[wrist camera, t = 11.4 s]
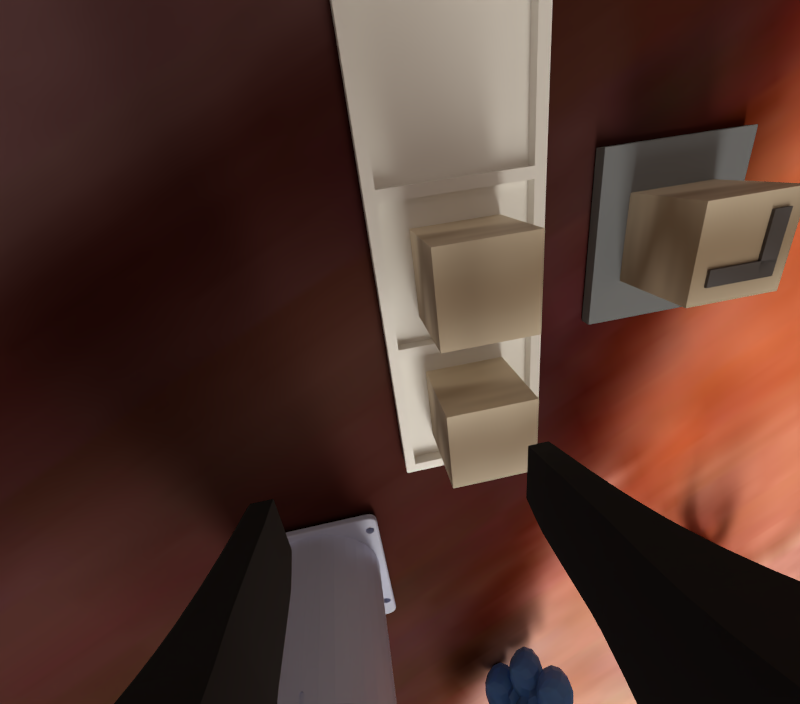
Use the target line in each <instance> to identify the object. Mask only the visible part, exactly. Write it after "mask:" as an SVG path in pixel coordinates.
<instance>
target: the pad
mask: <svg viewBox="0 0 800 704" xmlns="http://www.w3.org/2000/svg"><path fill="white" fill-rule="evenodd" d="M757 126H758V124H756V125H745V126H738V127H731V128H725V129H718V130H712V131H705V132H698V133H692V134H685V135H679V136H672V137H665V138H659V139H652V140H646V141H639V142H632V143H626V144H619V145H612V146H606V147H599V148H597V149H596V160H595V172H594V184H593V196H592V207H591V219H590V231H589V242H588V254H587V266H586V278H585V289H584V301H583V313H582V321H584V322H585V323H587V324H594V323H599V322H605V321H610V320H615V319H620V318H625V317H631V316H636V315H641V314H646V313H652V312H657V311H662V310H667V309H672V308H678V307H682V306H679V305H677V304H674V303H672V302H670V301H667V300H665V299H662V298H660V297H657V296H655V295H653V294H650V293H648V292H645V291H643V290H641V289H638V288H636V287H633V286H631V285H629V284H626V283H624V282H621V281H620V273H621V265H622V257H623V249H624V241H625V233H626V225H627V217H628V210H629V202H630V194H631V193H633V192H639V191H645V190H651V189H657V188H663V187H669V186H676V185H682V184H688V183H694V182H700V181H706V180H712V179H718V180H739V181H744V180H745V176H746V172H747V167H748V163H749V159H750V155H751V151H752V147H753V143H754V139H755V135H756V131H757Z"/></svg>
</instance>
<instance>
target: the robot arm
mask: <svg viewBox="0 0 800 704" xmlns="http://www.w3.org/2000/svg"><path fill="white" fill-rule="evenodd" d="M527 500H528V502H529V505H530V507H531V509H532V511H533V514H534V516H535V518H536V520H537V522H538V524H539V526H540V528H541V530H542V532H543V534H544V536H545V538H546V539H547V541H548V543H549V544H550V546H551V548H552V549H553V551H554V552H555V554H556V556H557V557H558V559H559V561H560V562H561V564H562V566H563V567H564V569H565V570H566V572H567V574H568V575H569V577H570V579H571V580H572V582H573V584H574V585H575V587H576V588H577V590H578V592H579V593H580V595H581V597H582V598H583V600H584V601H585V603H586V605H587V606H588V608H589V610H590V611H591V613H592V615H593V617H594V618H595V620H596V622H597V624H598V626H599V627H600V629H601V631H602V633H603V635H604V637H605V639H606V641H607V643H608V645H609V647H610V649H611V651H612V653H613V655H614V657H615V659H616V661H617V663H618V665H619V667H620V669H621V671H622V673H623V675H624V677H625V679H626V681H627V683H628V686H629V688H630V690H631V692H632V694H633V696H634V698H635V700H636V702H637V704H800V581H798V580H795V579H793V578H790V577H788V576H786V575H783V574H781V573H779V572H776V571H774V570H771V569H769V568H767V567H765V566H762V565H760V564H758V563H756V562H754V561H751V560H749V559H747V558H745V557H742V556H740V555H738V554H736V553H734V552H731V551H729V550H727V549H725V548H723V547H721V546H719V545H717V544H715V543H713V542H711V541H709V540H707V539H705V538H703V537H701V536H699V535H697V534H695V533H693V532H691V531H690V530H688V529H686V528H684V527H682V526H680V525H678V524H676V523H674V522H673V521H671V520H669V519H667V518H665V517H664V516H662V515H660V514H658V513H657V512H655V511H653V510H652V509H650V508H648V507H647V506H645V505H643V504H642V503H640V502H638V501H637V500H635V499H633V498H632V497H630V496H629V495H627V494H625V493H624V492H622V491H621V490H619V489H617V488H616V487H614V486H613V485H611V484H610V483H608V482H607V481H605V480H604V479H602V478H601V477H599V476H598V475H596V474H595V473H593V472H592V471H590V470H589V469H587V468H586V467H585V466H583V465H582V464H580V463H579V462H577V461H576V460H574V459H573V458H572V457H570V456H569V455H567V454H566V453H564V452H563V451H562V450H560V449H559V448H557V447H556V446H554V445H553V444H551V443H550V442H544V443H539V444H534V445H529V446H528V467H527ZM395 609H396V605H395V599H394V595H393V591H392V586H391V582H390V577H389V573H388V568H387V564H386V559H385V555H384V550H383V546H382V541H381V537H380V532H379V528H378V524H377V519H376V517H375V516H374V515H372V514H366V515H362V516H357V517H353V518H348V519H344V520H339V521H335V522H330V523H326V524H321V525H317V526H313V527H308V528H304V529H299V530H295V531H290V532H286V533H285V530H284V527H283V524H282V521H281V519H280V516H279V513H278V510H277V508H276V505H275V502H274V499H271V500H267V501H262V502H257V503H252V504H250V505H249V506H248V508H247V509H246V511H245V513H244V515H243V516H242V518H241V520H240V522H239V524H238V525H237V527H236V529H235V531H234V532H233V534H232V536H231V537H230V539H229V541H228V543H227V544H226V546H225V548H224V549H223V551H222V553H221V554H220V556H219V558H218V559H217V561H216V563H215V564H214V566H213V567H212V569H211V571H210V572H209V574H208V575H207V577H206V579H205V580H204V582H203V583H202V585H201V587H200V588H199V590H198V591H197V593H196V594H195V596H194V597H193V599H192V600H191V602H190V603H189V605H188V606H187V608H186V609H185V610H184V612H183V613H182V615H181V616H180V618H179V619H178V621H177V622H176V624H175V625H174V627H173V628H172V629H171V631H170V632H169V634H168V635H167V636H166V638H165V639H164V641H163V642H162V643H161V645H160V646H159V647H158V649H157V650H156V651H155V653H154V654H153V655H152V657H151V658H150V659H149V661H148V662H147V663H146V665H145V666H144V667H143V668H142V670H141V671H140V672H139V674H138V675H137V676H136V677H135V679H134V680H133V681H132V682H131V684H130V685H129V686H128V687H127V689H126V690H125V691H124V692H123V693H122V695H121V696H120V697H119V698H118V700H117V701H116V702H115V703H114V704H397V702H396V694H395V686H394V678H393V670H392V662H391V654H390V646H389V638H388V629H387V621H386V614H388V613H391V612H393V611H394V610H395Z"/></svg>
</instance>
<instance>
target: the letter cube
mask: <svg viewBox="0 0 800 704" xmlns="http://www.w3.org/2000/svg"><path fill="white" fill-rule="evenodd" d="M799 218H800V183H780V182H760V181H739V180H718V179H712V180H706V181H700V182H694V183H688V184H682V185H676V186H669V187H663V188H657V189H651V190H645V191H639V192H633V193H631V194H630V202H629V210H628V217H627V225H626V233H625V241H624V249H623V257H622V265H621V273H620V281H621V282H624V283H626V284H629V285H631V286H633V287H636V288H638V289H641V290H643V291H645V292H648V293H650V294H653V295H655V296H657V297H660V298H662V299H665V300H667V301H670V302H672V303H674V304H677V305H679V306H682V307H684V308H689V307H694V306H700V305H705V304H710V303H715V302H720V301H726V300H731V299H736V298H741V297H746V296H752V295H757V294H762V293H767V292H772V291H777V288H778V285H779V282H780V279H781V276H782V272H783V269H784V266H785V263H786V260H787V257H788V253H789V250H790V247H791V244H792V241H793V237H794V234H795V231H796V228H797V225H798V222H799Z"/></svg>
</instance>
